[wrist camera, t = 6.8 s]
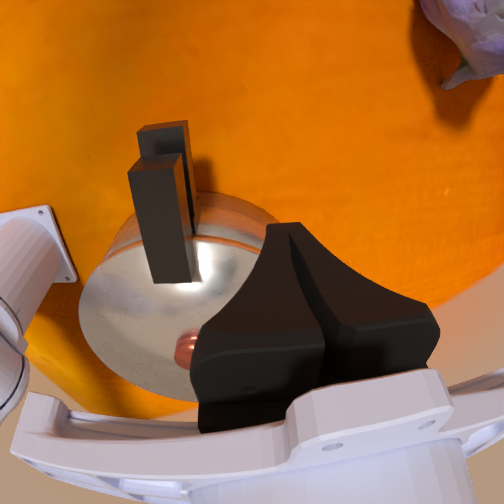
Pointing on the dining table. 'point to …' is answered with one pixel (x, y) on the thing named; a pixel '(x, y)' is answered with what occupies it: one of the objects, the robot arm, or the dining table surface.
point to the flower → (471, 35)
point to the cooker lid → (160, 285)
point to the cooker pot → (197, 195)
